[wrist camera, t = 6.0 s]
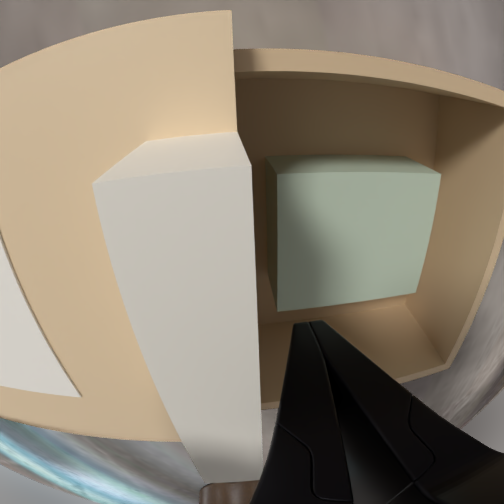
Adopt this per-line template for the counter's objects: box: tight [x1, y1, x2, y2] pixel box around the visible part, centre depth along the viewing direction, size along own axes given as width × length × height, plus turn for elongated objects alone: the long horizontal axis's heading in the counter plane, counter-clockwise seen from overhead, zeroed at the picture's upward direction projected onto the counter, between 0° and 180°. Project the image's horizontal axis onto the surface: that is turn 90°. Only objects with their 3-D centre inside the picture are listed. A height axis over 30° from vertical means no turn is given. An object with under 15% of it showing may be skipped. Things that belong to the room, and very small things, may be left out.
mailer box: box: [233, 49, 504, 410], centre depth 13 cm, size 16×14×6 cm
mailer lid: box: [0, 10, 263, 483], centre depth 8 cm, size 16×16×5 cm
